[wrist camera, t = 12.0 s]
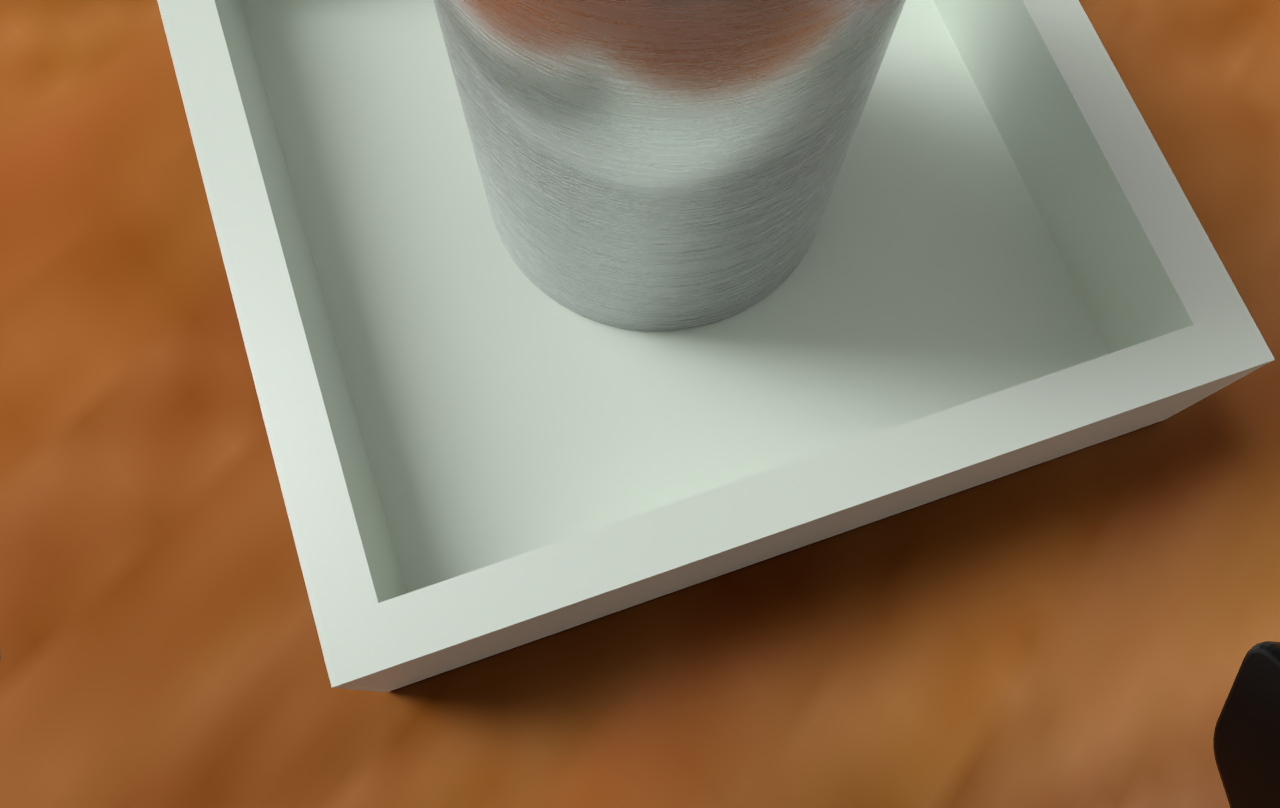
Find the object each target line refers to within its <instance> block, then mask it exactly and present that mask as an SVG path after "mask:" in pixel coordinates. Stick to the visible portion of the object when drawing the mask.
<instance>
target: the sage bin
mask: <svg viewBox="0 0 1280 808" xmlns="http://www.w3.org/2000/svg"><path fill="white" fill-rule="evenodd" d="M157 1H158V5H159V9H160V13H161V17H162V21H163V25H164V29H165V33H166V36H167V40H168V44H169V48H170V52H171V56H172V60H173V64H174V68H175V72H176V76H177V80H178V84H179V88H180V92H181V96H182V100H183V103H184V107H185V111H186V115H187V119H188V123H189V127H190V131H191V135H192V139H193V143H194V147H195V151H196V155H197V159H198V163H199V167H200V170H201V174H202V178H203V182H204V186H205V190H206V194H207V198H208V202H209V206H210V210H211V214H212V218H213V222H214V226H215V230H216V233H217V237H218V241H219V245H220V249H221V253H222V257H223V261H224V265H225V269H226V273H227V277H228V281H229V285H230V289H231V293H232V297H233V300H234V304H235V308H236V312H237V316H238V320H239V324H240V328H241V332H242V336H243V340H244V344H245V348H246V352H247V356H248V360H249V364H250V367H251V371H252V375H253V379H254V383H255V387H256V391H257V395H258V399H259V403H260V407H261V411H262V415H263V419H264V423H265V427H266V430H267V434H268V438H269V442H270V446H271V450H272V454H273V458H274V462H275V466H276V470H277V474H278V478H279V482H280V486H281V490H282V494H283V497H284V501H285V505H286V509H287V513H288V517H289V521H290V525H291V529H292V533H293V537H294V541H295V545H296V549H297V553H298V557H299V561H300V564H301V568H302V572H303V576H304V580H305V584H306V588H307V592H308V596H309V600H310V604H311V608H312V612H313V616H314V620H315V624H316V627H317V631H318V635H319V639H320V643H321V647H322V651H323V655H324V659H325V663H326V667H327V671H328V675H329V679H330V683H331V687H332V688H342V689H354V690H366V691H378V692H389V691H392V690H395V689H398V688H401V687H404V686H407V685H409V684H412V683H415V682H418V681H421V680H424V679H426V678H429V677H432V676H435V675H438V674H441V673H444V672H446V671H449V670H452V669H455V668H458V667H461V666H464V665H466V664H469V663H472V662H475V661H478V660H481V659H484V658H486V657H489V656H492V655H495V654H498V653H501V652H504V651H506V650H509V649H512V648H515V647H518V646H521V645H524V644H526V643H529V642H532V641H535V640H538V639H541V638H544V637H546V636H549V635H552V634H555V633H558V632H561V631H564V630H566V629H569V628H572V627H575V626H578V625H581V624H584V623H586V622H589V621H592V620H595V619H598V618H601V617H603V616H606V615H609V614H612V613H615V612H618V611H621V610H623V609H626V608H629V607H632V606H635V605H638V604H641V603H643V602H646V601H649V600H652V599H655V598H658V597H661V596H663V595H666V594H669V593H672V592H675V591H678V590H681V589H683V588H686V587H689V586H692V585H695V584H698V583H701V582H703V581H706V580H709V579H712V578H715V577H718V576H721V575H723V574H726V573H729V572H732V571H735V570H738V569H741V568H743V567H746V566H749V565H752V564H755V563H758V562H761V561H763V560H766V559H769V558H772V557H775V556H778V555H780V554H783V553H786V552H789V551H792V550H795V549H798V548H800V547H803V546H806V545H809V544H812V543H815V542H818V541H820V540H823V539H826V538H829V537H832V536H835V535H838V534H840V533H843V532H846V531H849V530H852V529H855V528H858V527H860V526H863V525H866V524H869V523H872V522H875V521H878V520H880V519H883V518H886V517H889V516H892V515H895V514H898V513H900V512H903V511H906V510H909V509H912V508H915V507H918V506H920V505H923V504H926V503H929V502H932V501H935V500H938V499H940V498H943V497H946V496H949V495H952V494H955V493H957V492H960V491H963V490H966V489H969V488H972V487H975V486H977V485H980V484H983V483H986V482H989V481H992V480H995V479H997V478H1000V477H1003V476H1006V475H1009V474H1012V473H1015V472H1017V471H1020V470H1023V469H1026V468H1029V467H1032V466H1035V465H1037V464H1040V463H1043V462H1046V461H1049V460H1052V459H1055V458H1057V457H1060V456H1063V455H1066V454H1069V453H1072V452H1075V451H1077V450H1080V449H1083V448H1086V447H1089V446H1092V445H1095V444H1097V443H1100V442H1103V441H1106V440H1109V439H1112V438H1115V437H1117V436H1120V435H1123V434H1126V433H1129V432H1132V431H1134V430H1137V429H1140V428H1143V427H1146V426H1149V425H1152V424H1154V423H1157V422H1160V421H1163V420H1166V419H1167V418H1169V417H1171V416H1173V415H1175V414H1177V413H1178V412H1180V411H1182V410H1184V409H1186V408H1188V407H1189V406H1191V405H1193V404H1195V403H1197V402H1198V401H1200V400H1202V399H1204V398H1206V397H1208V396H1209V395H1211V394H1213V393H1215V392H1217V391H1219V390H1220V389H1222V388H1224V387H1226V386H1228V385H1229V384H1231V383H1233V382H1235V381H1237V380H1239V379H1240V378H1242V377H1244V376H1246V375H1248V374H1250V373H1251V372H1253V371H1255V370H1257V369H1259V368H1260V367H1262V366H1264V365H1266V364H1268V363H1270V362H1271V361H1273V360H1275V359H1274V357H1273V355H1272V353H1271V351H1270V349H1269V348H1268V346H1267V344H1266V342H1265V340H1264V339H1263V337H1262V335H1261V333H1260V331H1259V329H1258V328H1257V326H1256V324H1255V322H1254V320H1253V318H1252V317H1251V315H1250V313H1249V311H1248V309H1247V307H1246V306H1245V304H1244V302H1243V300H1242V298H1241V296H1240V295H1239V293H1238V291H1237V289H1236V287H1235V285H1234V284H1233V282H1232V280H1231V278H1230V276H1229V275H1228V273H1227V271H1226V269H1225V267H1224V265H1223V264H1222V262H1221V260H1220V258H1219V256H1218V254H1217V253H1216V251H1215V249H1214V247H1213V245H1212V243H1211V242H1210V240H1209V238H1208V236H1207V234H1206V232H1205V231H1204V229H1203V227H1202V225H1201V223H1200V222H1199V220H1198V218H1197V216H1196V214H1195V212H1194V211H1193V209H1192V207H1191V205H1190V203H1189V201H1188V200H1187V198H1186V196H1185V194H1184V192H1183V190H1182V189H1181V187H1180V185H1179V183H1178V181H1177V179H1176V178H1175V176H1174V174H1173V172H1172V170H1171V168H1170V167H1169V165H1168V163H1167V161H1166V159H1165V158H1164V156H1163V154H1162V152H1161V150H1160V148H1159V147H1158V145H1157V143H1156V141H1155V139H1154V137H1153V136H1152V134H1151V132H1150V130H1149V128H1148V126H1147V125H1146V123H1145V121H1144V119H1143V117H1142V115H1141V114H1140V112H1139V110H1138V108H1137V106H1136V104H1135V103H1134V101H1133V99H1132V97H1131V95H1130V94H1129V92H1128V90H1127V88H1126V86H1125V84H1124V83H1123V81H1122V79H1121V77H1120V75H1119V73H1118V72H1117V70H1116V68H1115V66H1114V64H1113V62H1112V61H1111V59H1110V57H1109V55H1108V53H1107V51H1106V50H1105V48H1104V46H1103V44H1102V42H1101V41H1100V39H1099V37H1098V35H1097V33H1096V31H1095V30H1094V28H1093V26H1092V24H1091V22H1090V20H1089V19H1088V17H1087V15H1086V13H1085V11H1084V9H1083V8H1082V6H1081V4H1080V2H1079V0H906V1H905V4H904V6H903V9H902V11H901V14H900V17H899V19H898V22H897V24H896V27H895V30H894V32H893V35H892V37H891V40H890V43H889V45H888V48H887V50H886V53H885V55H884V58H883V61H882V63H881V66H880V68H879V71H878V74H877V76H876V79H875V81H874V84H873V87H872V89H871V92H870V94H869V97H868V100H867V102H866V105H865V107H864V110H863V113H862V115H861V118H860V120H859V123H858V126H857V128H856V131H855V133H854V136H853V139H852V141H851V144H850V146H849V149H848V151H847V154H846V157H845V159H844V162H843V164H842V167H841V170H840V172H839V175H838V177H837V180H836V183H835V185H834V188H833V190H832V193H831V196H830V198H829V201H828V203H827V206H826V209H825V211H824V214H823V216H822V219H821V222H820V224H819V227H818V229H817V232H816V234H815V237H814V239H813V242H812V243H811V245H810V247H809V249H808V250H807V252H806V254H805V256H804V257H803V259H802V260H801V262H800V263H799V264H798V265H797V267H796V268H795V269H794V271H793V272H792V273H791V275H790V276H789V277H788V278H787V279H786V280H785V281H784V282H783V283H782V284H781V285H779V286H778V287H777V288H776V289H775V290H774V291H773V292H772V293H770V294H769V295H768V296H766V297H765V298H764V299H762V300H761V301H759V302H758V303H757V304H755V305H753V306H751V307H750V308H748V309H746V310H744V311H742V312H741V313H739V314H737V315H734V316H732V317H729V318H727V319H724V320H722V321H719V322H717V323H713V324H709V325H705V326H702V327H698V328H694V329H686V330H678V331H670V332H646V331H638V330H630V329H623V328H619V327H615V326H611V325H607V324H603V323H600V322H597V321H594V320H592V319H589V318H587V317H584V316H581V315H579V314H577V313H575V312H573V311H572V310H570V309H568V308H566V307H564V306H562V305H560V304H559V303H558V302H556V301H555V300H553V299H552V298H551V297H549V296H548V295H546V294H545V293H544V292H542V291H541V290H540V289H539V288H538V287H537V286H536V285H535V284H534V283H533V282H531V281H530V280H529V279H528V278H527V277H526V276H525V275H524V273H523V272H522V271H521V270H520V268H519V267H518V266H517V265H516V263H515V262H514V261H513V260H512V258H511V256H510V255H509V253H508V251H507V250H506V248H505V246H504V245H503V243H502V241H501V239H500V237H499V234H498V232H497V230H496V227H495V225H494V222H493V219H492V215H491V211H490V208H489V204H488V200H487V197H486V193H485V189H484V186H483V182H482V178H481V174H480V171H479V167H478V163H477V160H476V156H475V152H474V149H473V145H472V141H471V138H470V134H469V130H468V127H467V123H466V119H465V116H464V112H463V108H462V104H461V101H460V97H459V93H458V90H457V86H456V82H455V79H454V75H453V71H452V68H451V64H450V60H449V57H448V53H447V49H446V46H445V42H444V38H443V34H442V31H441V27H440V23H439V20H438V16H437V12H436V9H435V5H434V1H433V0H157Z"/></svg>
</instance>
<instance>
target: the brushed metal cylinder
mask: <svg viewBox="0 0 1280 808" xmlns="http://www.w3.org/2000/svg"><path fill="white" fill-rule="evenodd" d="M433 1H434V5H435V9H436V12H437V16H438V20H439V23H440V27H441V31H442V34H443V38H444V42H445V46H446V49H447V53H448V57H449V60H450V64H451V68H452V71H453V75H454V79H455V82H456V86H457V90H458V93H459V97H460V101H461V104H462V108H463V112H464V116H465V119H466V123H467V127H468V130H469V134H470V138H471V141H472V145H473V149H474V152H475V156H476V160H477V163H478V167H479V171H480V174H481V178H482V182H483V186H484V189H485V193H486V197H487V200H488V204H489V208H490V211H491V215H492V219H493V222H494V225H495V227H496V230H497V232H498V234H499V237H500V239H501V241H502V243H503V245H504V246H505V248H506V250H507V251H508V253H509V255H510V256H511V258H512V260H513V261H514V262H515V263H516V265H517V266H518V267H519V268H520V270H521V271H522V272H523V273H524V275H525V276H526V277H527V278H528V279H529V280H530V281H531V282H533V283H534V284H535V285H536V286H537V287H538V288H539V289H540V290H541V291H542V292H544V293H545V294H546V295H548V296H549V297H551V298H552V299H553V300H555V301H556V302H558V303H559V304H560V305H562V306H564V307H566V308H568V309H570V310H572V311H573V312H575V313H577V314H579V315H581V316H584V317H587V318H589V319H592V320H594V321H597V322H600V323H603V324H607V325H611V326H615V327H619V328H623V329H630V330H638V331H646V332H670V331H678V330H686V329H694V328H698V327H702V326H705V325H709V324H713V323H717V322H719V321H722V320H724V319H727V318H729V317H732V316H734V315H737V314H739V313H741V312H742V311H744V310H746V309H748V308H750V307H751V306H753V305H755V304H757V303H758V302H759V301H761V300H762V299H764V298H765V297H766V296H768V295H769V294H770V293H772V292H773V291H774V290H775V289H776V288H777V287H778V286H779V285H781V284H782V283H783V282H784V281H785V280H786V279H787V278H788V277H789V276H790V275H791V273H792V272H793V271H794V269H795V268H796V267H797V265H798V264H799V263H800V262H801V260H802V259H803V257H804V256H805V254H806V252H807V250H808V249H809V247H810V245H811V243H812V242H813V239H814V237H815V234H816V232H817V229H818V227H819V224H820V222H821V219H822V216H823V214H824V211H825V209H826V206H827V203H828V201H829V198H830V196H831V193H832V190H833V188H834V185H835V183H836V180H837V177H838V175H839V172H840V170H841V167H842V164H843V162H844V159H845V157H846V154H847V151H848V149H849V146H850V144H851V141H852V139H853V136H854V133H855V131H856V128H857V126H858V123H859V120H860V118H861V115H862V113H863V110H864V107H865V105H866V102H867V100H868V97H869V94H870V92H871V89H872V87H873V84H874V81H875V79H876V76H877V74H878V71H879V68H880V66H881V63H882V61H883V58H884V55H885V53H886V50H887V48H888V45H889V43H890V40H891V37H892V35H893V32H894V30H895V27H896V24H897V22H898V19H899V17H900V14H901V11H902V9H903V6H904V4H905V1H906V0H433Z"/></svg>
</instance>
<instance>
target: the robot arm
mask: <svg viewBox="0 0 1280 808" xmlns="http://www.w3.org/2000/svg"><path fill="white" fill-rule="evenodd" d="M1214 754H1215V760H1216V764H1217V767H1218V770H1219V773H1220V777H1221V780H1222V783H1223V786H1224V789H1225V792H1226V795H1227V798H1228V801H1229V804H1230V807H1231V808H1280V642H1271V641H1267V642H1262V643H1259V644H1256V645H1255V646H1253V647H1252V648H1251V649H1250V650H1249V651H1248V652H1247V654H1246V656H1245V658H1244V660H1243V662H1242V664H1241V667H1240V669H1239V671H1238V674H1237V676H1236V679H1235V681H1234V683H1233V686H1232V688H1231V690H1230V693H1229V695H1228V697H1227V700H1226V702H1225V704H1224V707H1223V709H1222V711H1221V714H1220V716H1219V718H1218V721H1217V723H1216V727H1215V732H1214Z"/></svg>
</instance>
